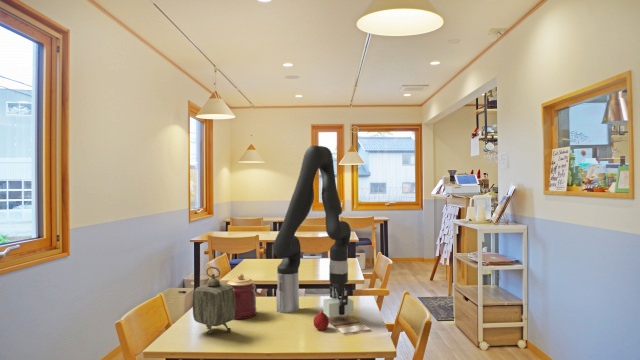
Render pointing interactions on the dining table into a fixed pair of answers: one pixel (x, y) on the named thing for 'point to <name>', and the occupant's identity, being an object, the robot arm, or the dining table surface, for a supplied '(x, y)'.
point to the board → (348, 325)
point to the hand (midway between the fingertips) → (338, 312)
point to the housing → (336, 307)
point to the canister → (244, 297)
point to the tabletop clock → (214, 303)
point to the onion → (321, 321)
